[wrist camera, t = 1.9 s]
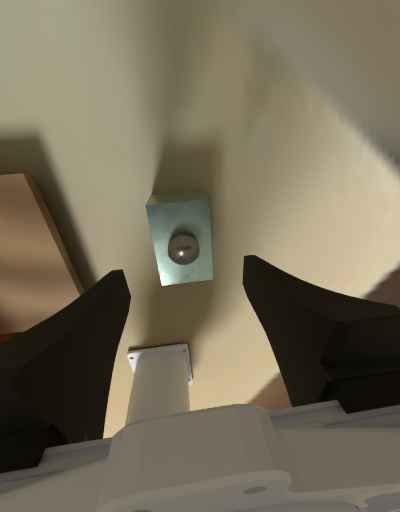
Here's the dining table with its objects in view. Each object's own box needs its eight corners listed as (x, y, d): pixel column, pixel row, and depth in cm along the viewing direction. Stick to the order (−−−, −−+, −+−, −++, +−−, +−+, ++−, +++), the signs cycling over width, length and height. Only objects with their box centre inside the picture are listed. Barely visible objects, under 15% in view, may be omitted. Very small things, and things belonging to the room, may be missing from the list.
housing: (206, 257, 21) (214, 285, 17) (164, 262, 20) (161, 291, 16) (202, 189, 17) (211, 201, 13) (151, 193, 17) (144, 208, 13)
